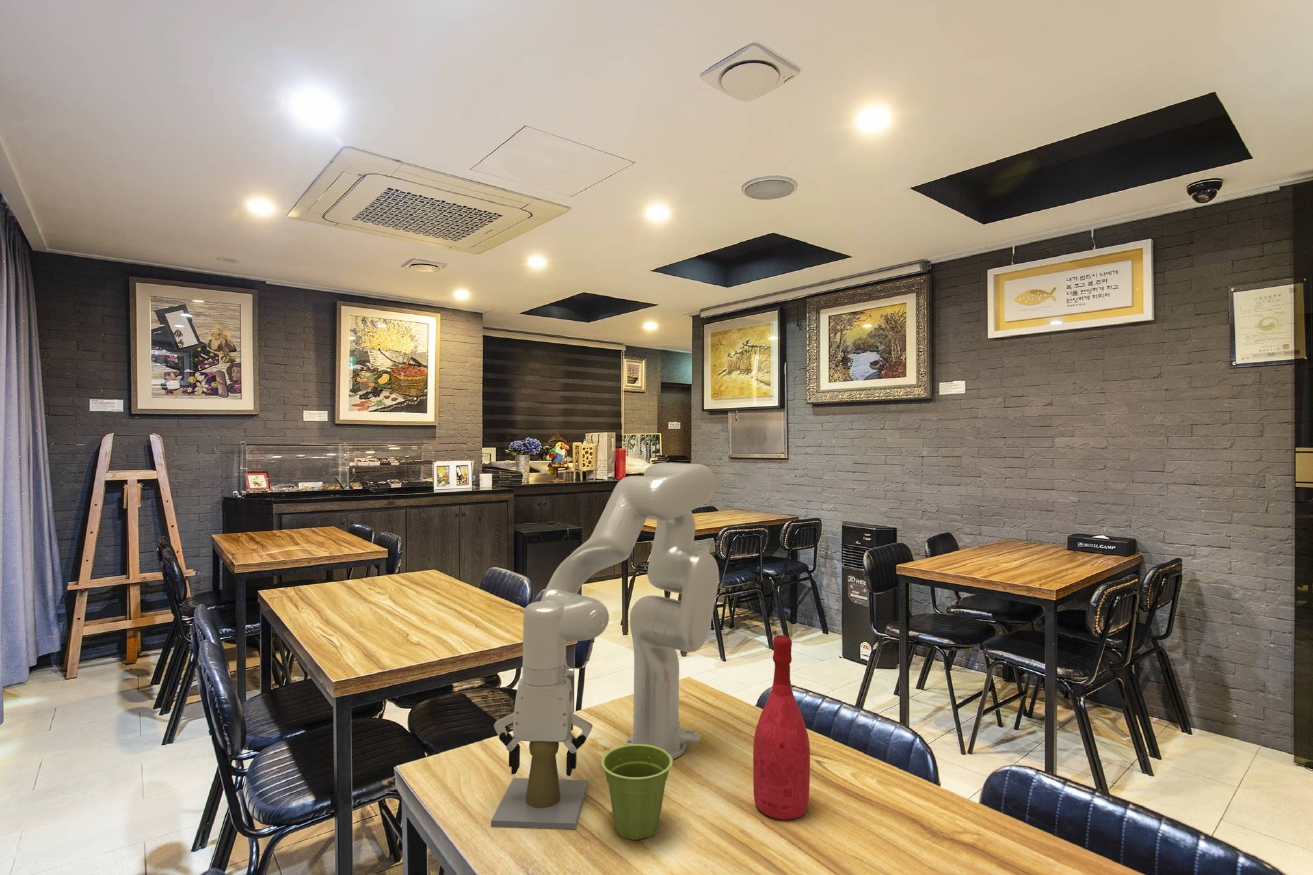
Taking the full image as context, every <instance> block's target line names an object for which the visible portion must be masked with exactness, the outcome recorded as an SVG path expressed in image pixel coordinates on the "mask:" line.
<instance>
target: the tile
mask: <svg viewBox="0 0 1313 875" xmlns="http://www.w3.org/2000/svg"><path fill="white" fill-rule="evenodd" d="M528 780H529V777H526V778H525V777H513V778H512V779H511V781H510V783H509V786H508V787H507V789H506V791H505V793H504V795H503V797H502V799H501V801H500V802H499V804H498V806H497V808H496V810H495V812H494V814H493V816H492V818H491V820H490V828H491V827H493V828H494V827H495V828H518V829H519V828H520V829H521V828H522V829H547V830H549V829H550V830H572V831H573V830H576V827H577V825H578V821H579V818H580V817H579V816H580V814H581V810H582V807H583V803H584V800H585V796H586V793H587V790H588V784H589V783H588V781H589V780H587V779H586V780H585V779H559V778H558V780H559V789H560V801H559V802H558V803H557V804H555V805H553V806H551V807H547V808H535V807H531V806H529V805H528V804H527V803H526V794H527V787H528Z"/></svg>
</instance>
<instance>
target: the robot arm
mask: <svg viewBox="0 0 1313 875" xmlns="http://www.w3.org/2000/svg"><path fill="white" fill-rule="evenodd" d="M715 490H716V477H715V474H714V473H713V471H712V470H711V469H710V467H708V466H707V465H704V464H699V463H683V462H682V463H681V462H680V463H677V462H659V463H653V464H651V465H649V466H648V467H647V468H646V469H645V471H644V472H643V475H630V476H626V477H623V478H622V479H620V480H619V481H618V482H617V484H616V485H615V487H614V488H613V490H612V493H611V495H610V497H609V498H608V501H607V503H606V505H605V508H604V510H603V512H602V514H601V515H600V518H599V519H598V522H597V523H596V526H595V528H594V530H593V531H592V534H591V535H590V537H589V538H588V539H587V540H586V541H585V542H584V543H582V544H581V545H580V546H579V547H577V548H576V549H574V551H572V552H571V554H570V555H569V556H567V557H566V558H565V559H564V560H563V561H562V562H560V564H559V565H558V567H557V568H556V569H555V571H554V572H553V574H552V576H551V578H550V580H549V582H548V583H547V586H546V588H545V589H544V592H543V594H542V597H541V599H540V601H535V602H531V603H528V605H527V606H525V608H524V609H523V610H524V611H523V623H522V630H523V632H522V678H520V679H519V681H518V684H517V688H516V689H517V690H516V694H515V700H514V701H515V703H514V708H513V709H514V711H513V712H511V713H510V714H509V713H508V715H506V716H504V717H501V718H500V719H497V720H496V721H495V722H494V724H493V728H494V730H495V732H496V733H497V735H498V739H499V740H500V742H501V743H502V744H503V745H504V746H505V747H506V751H508V767H509V768H511V770H510V771H511V772H510V773H511V774H510V775H516V774H517V772H518V771H519V769H520V764H521V745H520V742H530V741H533V742H559V743H563V745H564V746H565V748H566V749H567V752H566V764H565V765H566V766H565V768H566V771H565V772H566V773H565V774H566V777H571V776H572V773H573V770H576V768H577V761H578V760H577V756H578V755H577V751H578V749H580V748H581V746H582V745H584V743H586V741H587V739H588V737H589V736H590V734H591V732H592V729H593V726H594V725H593V723H591V722H590V721H588V720H586V719H584V718H583V717H581V716H579V715H577V714H575V713H574V700H573V689H572V684H571V679H570V678H569V677H570V676H574V674H575V668H574V667H570V666H568V665H567V661H566V660H567V643H568V642H579V641H588V640H593V639H596V638H597V637H599V636H601V635H602V634H603V633H604V632H605V631H606V628H607V627H608V624H609V622H610V621H609V620H610V615H609V611H608V608H607V607H606V605H605V604H604V602H602V601H600V600H599V599H596V598H594V597H590V596H586V595H582V594H578V592H579V591H580V589H581V588H582V587H583V585H584V584H585V582H587V580H588V579H589V578H590V577H592V576H593V575H594V574H596V573H598V572H600V571H602V570H605V569H607V568H609V567H612V566H614V565H616V564H617V565H618V564H620V563H622V562H624V561H626V560H628V559H629V558H630V556H631V555H632V552H633V550H634V547H635V545H636V543H637V540H638V538H639V536H640V534H641V532H642V530H643V527H644V526H645V523H646V521H647V520H656V526H655V527H656V528H655V533H654V539H653V542H652V546H651V552H650V557H649V562H648V566H647V567H648V568H647V580H648V582H649V583H650V585H651V586H653V587H654V588H656V589H659V590H662V591H666V592H670V593H674V594H679V595H681V600H678V599H674V598H669V597H666V596H665V597H664V596H660V595H646V596H642V597H640V598H639V599H638V600H637V601H636V602H634V604H633V606H632V607H631V610H630V614H629V628H630V633H631V638H632V647H633V667H634V668H633V713H632V714H633V715H632V716H633V720H632V721H633V725H632V726H633V728H632V729H633V731H632V732H633V734H631V735H629V737H627V738H626V740H625V745H630V744H646V745H652V746H656V747H659V748H661V749H663V750H665V751H667V752H668V753H669V754H670V755H671V757H672V759H673V760H675V759H677V758H678V757H681V756H682V755H683V754H684V753H685V751H686V745H687V744H686V743H691V744H701V733H700V732H698V733H697V732H695V729H692V728H691V729H690V728H689V729H684V728H683V727H681V721H680V720H679V718H680V717H679V715H680V712H679V710H680V705H679V704H680V661H679V660H680V659H679V657H678V654H677V653H678V652H677V651H682V652H685V653H692V652H697V651H699V650H700V649H701V648H702V647H703V646H704V644H705V643H706V641H707V639H708V636H709V633H710V629H711V624H712V619H713V614H714V608H715V604H716V600H717V599H716V598H717V594H718V588H719V581H720V571H719V566H718V563H717V560H716V559H715V557H714V555H712V553H709V552H707V551H705V550H702V549H694V548H693V547H694V541H695V534H696V533H695V532H696V520H695V516H694V514H693V512H692V511H694V510H696V509H698V508H700V507H702V506H703V505H705V504H707V503H708V502H709V501H710V500H711V498H712V497H713V495H714V493H715ZM676 650H677V651H676ZM510 724H512V734H513V736H512V735H511V733H510V732H509V731H507V729H506V727H507V726H509V725H510ZM574 726H575V727H578V729H581V730H582V731H581V733H580V734H579V735H578V736H577V737H576V736H575V735H574V734H573V732H572V731H573V730H574Z"/></svg>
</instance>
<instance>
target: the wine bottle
mask: <svg viewBox="0 0 1313 875" xmlns="http://www.w3.org/2000/svg"><path fill="white" fill-rule="evenodd" d="M772 643H773V644H772V645H773V655H772V661H773V662H774V672H773V681H772V687H771V691H770V694H769V696H768V699H767V701H766V703H765V705H764V707H763V709H762V711H761V713H760V716H759V719H758V721H757V724H756V727H755V732H754V735H753V736H754V738H753V746H752V747H753V751H752V752H753V754H752V757H753V758H752V761H753V762H752V766H753V767H752V768H753V769H752V771H753V772H752V775H753V776H752V778H753V780H752V781H753V800H754V804H755V806H756V808H757V809H758V810H759V811H760V812H762V814H764V815H765V816H768V817H771V818H772V819H773V818H774V819H779V820H792V819H793V820H794V819H797V818H800V817H801V816H803V815H805V813H806V812H807V810H808V809H809V808H808V807H809V800H810V784H811V782H810V777H811V774H810V773H811V745H810V738H809V735H808V730H807V726H806V722H805V721H804V720H805V719H804V718H803V715H802V713H801V710H800V707H799V706H798V703H797V701H796V698H795V696H794V692H793V691H794V690H793V687H792V682H791V663H792V660H793V658H792V657H793V656H792V645H793V640H792V638H791V637H790V636H788V635H785V634H779V635H775V636H774V637H773V640H772Z"/></svg>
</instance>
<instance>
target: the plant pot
mask: <svg viewBox="0 0 1313 875" xmlns="http://www.w3.org/2000/svg"><path fill="white" fill-rule="evenodd" d="M600 760H601V761H600V763H601V767H602V769H603V771H604V772H605V777H606V781H607V784H608V790H609V791H608V792H609V797H610V802H611V810H612V815H613V823H614V828H615V831H616V832H617V834H618V835H619V837H620V836H621V837H623V838H625V839H627V840H632V841H638V840H641V839H643V838H648V839H649V838H651V837H653V836H654V835H656V833H657V831H659V827H660V826H659V825H660V820H661V815H662V807H663V801H664V795H665V794H664V793H665V787H666V782H667V780H668V777H669V771H670V769H671V768H672V765H673V762H674V759H672V757H671V755H670V754H669V753H668V752H667V751H665V750H663V749H661V748H659V747H656V746H652V745H646V744H630V745H626V744H623V745H620V746H616V747H614V748H612V749H610V750H608V751H607V752H606V753H604V755H603V756H602V757H601V759H600Z"/></svg>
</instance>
